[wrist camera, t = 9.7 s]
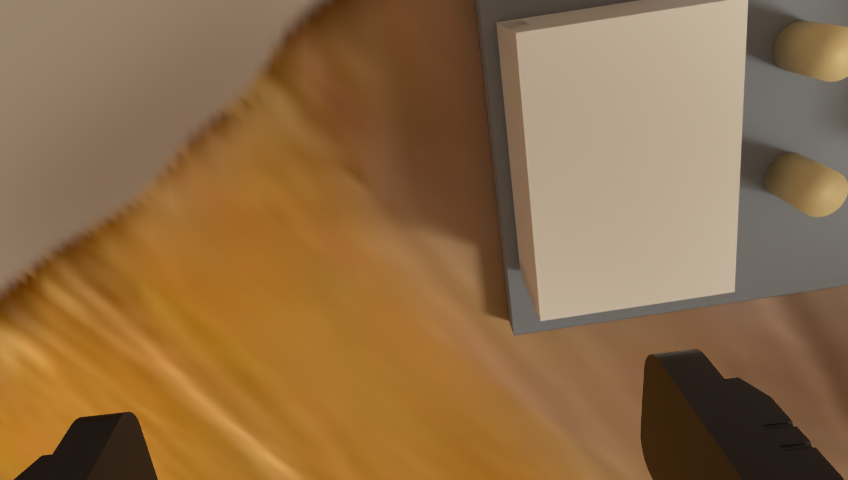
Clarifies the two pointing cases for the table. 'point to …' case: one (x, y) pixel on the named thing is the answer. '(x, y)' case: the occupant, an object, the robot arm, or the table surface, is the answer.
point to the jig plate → (760, 155)
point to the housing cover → (625, 151)
